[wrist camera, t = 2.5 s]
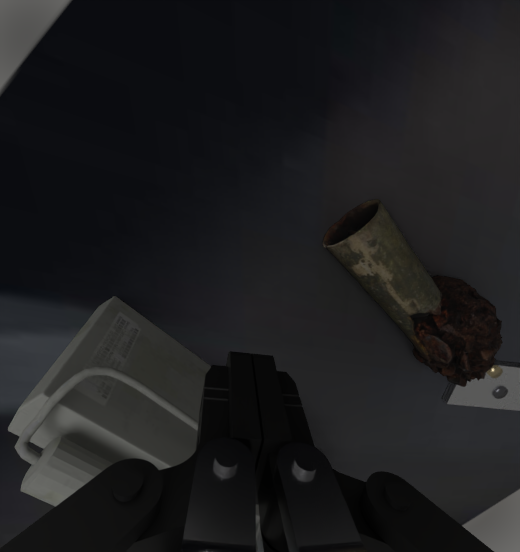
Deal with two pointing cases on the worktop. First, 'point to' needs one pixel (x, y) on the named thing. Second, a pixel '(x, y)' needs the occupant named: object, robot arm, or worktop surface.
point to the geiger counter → (110, 404)
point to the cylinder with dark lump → (417, 295)
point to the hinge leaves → (489, 389)
